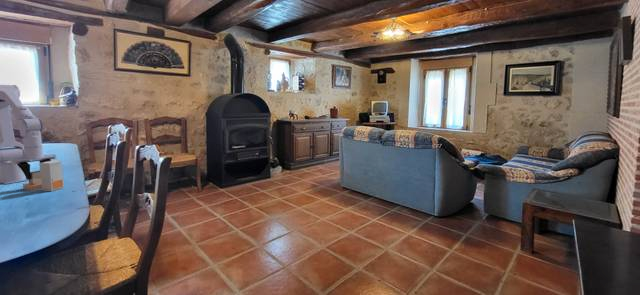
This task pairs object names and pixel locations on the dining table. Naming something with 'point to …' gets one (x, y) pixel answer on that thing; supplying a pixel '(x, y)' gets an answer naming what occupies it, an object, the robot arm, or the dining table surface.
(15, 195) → the dining table surface
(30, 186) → the terracotta base
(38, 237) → the dining table surface
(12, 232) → the dining table surface
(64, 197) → the dining table surface
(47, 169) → the skincare box
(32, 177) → the ash block
